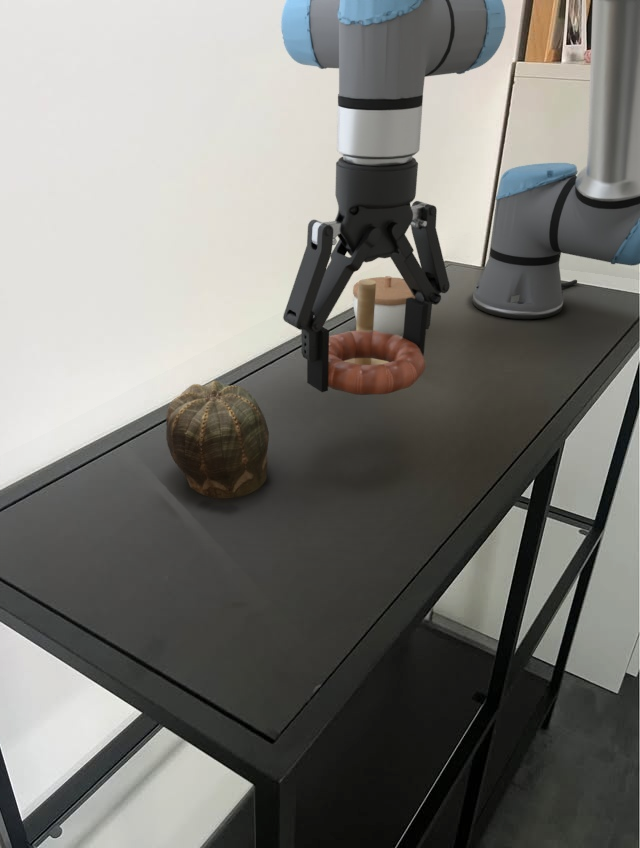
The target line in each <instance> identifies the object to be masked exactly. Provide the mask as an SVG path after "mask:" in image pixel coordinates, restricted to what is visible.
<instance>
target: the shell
mask: <svg viewBox="0 0 640 848" xmlns="http://www.w3.org/2000/svg"><path fill="white" fill-rule="evenodd" d="M165 418H166V419H165V420H166V422H165V423H166V424H165V425H166V428H165V429H166V430H165V438H166V439H165V440H166V444H167V448H168V450H169V454H170V456H171V458H172V460H173V461H174V463H175V465H176V466H177V467H178V468H179V469H180V470H181V472H182V473H183V474H184V475H185V477H186V481H187V483H188V485H189V487H190V489H191V490H193V491H195V492H196V493H198V494H199V495H203V496H206V497H209V498H213V499H233V498H238V497H244V496H247V495H249V494H251V493H254V492H255V491H258V490H259V489H260V488H262V486H263V485H264V484H265V482H266V481H267V478H268V470H267V469H268V450H269V440H270V439H269V437H270V436H269V435H270V433H269V427H268V424H267V421H266V417H265V415H264V413H263V411H262V410H261V407H260V406H259V404H258V401H256V399H255V397H254V396H253V395H252V394H251V393H250V392H249V390H248V389H246V388H244V387H242V386H239V385H232V384H231V385H229V384H227V383H224V382H221V381H218V380H213V381H211V382H209V383H207V384H205V385H201V384H198V383H193V384H191V385H190V386H188V387H187V388H186V389H185V390H184V391H182V392H181V394H180V395H178V396H176V397H175V398H174V399H173V400H171V402H170V403H169V406H168V408H167V412H166V417H165Z"/></svg>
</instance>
